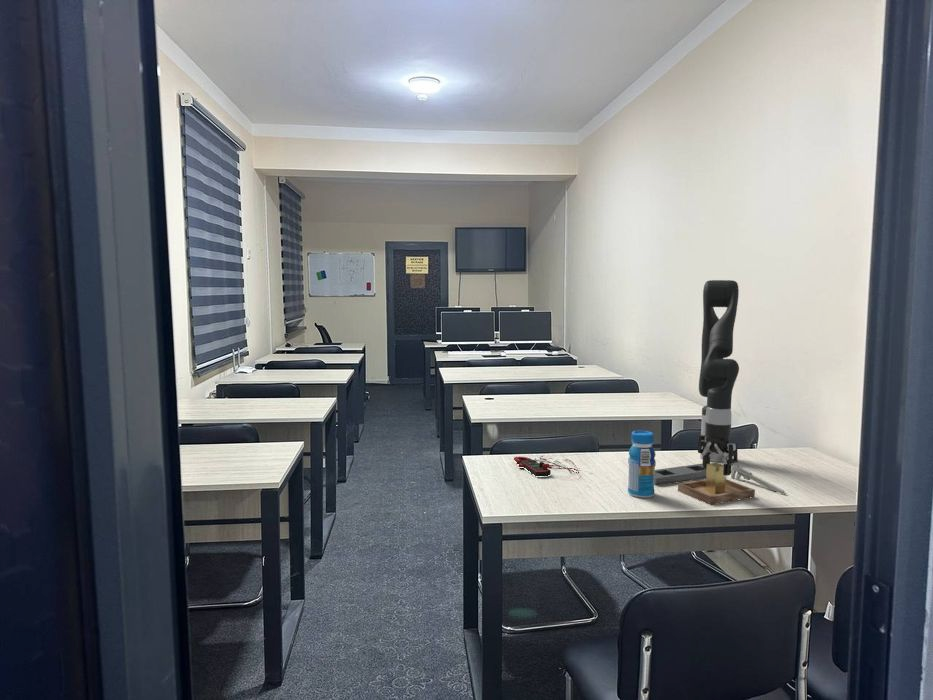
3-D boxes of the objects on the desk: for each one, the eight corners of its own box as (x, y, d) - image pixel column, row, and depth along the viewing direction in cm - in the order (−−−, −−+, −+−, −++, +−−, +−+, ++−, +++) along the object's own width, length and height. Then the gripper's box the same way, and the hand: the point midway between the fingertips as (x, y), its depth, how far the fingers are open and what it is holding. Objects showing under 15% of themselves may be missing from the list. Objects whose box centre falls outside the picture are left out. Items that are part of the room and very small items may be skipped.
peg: (715, 488, 194) (716, 462, 193) (724, 492, 191) (725, 465, 190) (705, 489, 193) (706, 463, 192) (715, 493, 189) (716, 467, 188)
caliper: (730, 479, 208) (731, 461, 208) (733, 478, 209) (733, 461, 208) (785, 496, 190) (786, 477, 190) (787, 495, 191) (788, 476, 190)
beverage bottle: (622, 494, 191) (624, 433, 189) (634, 488, 198) (635, 428, 196) (648, 500, 186) (649, 437, 184) (659, 493, 192) (660, 432, 190)
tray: (720, 484, 201) (720, 477, 201) (754, 497, 188) (754, 489, 188) (677, 490, 195) (678, 483, 195) (710, 505, 182) (710, 496, 182)
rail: (703, 469, 218) (704, 463, 218) (720, 476, 210) (720, 469, 210) (640, 478, 208) (640, 471, 207) (655, 485, 200) (656, 478, 200)
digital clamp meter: (536, 470, 205) (509, 451, 228) (536, 483, 205) (509, 463, 229) (597, 463, 212) (564, 446, 236) (597, 476, 212) (564, 457, 236)
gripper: (745, 425, 184) (743, 476, 186) (710, 416, 197) (708, 464, 199) (726, 427, 181) (724, 479, 183) (692, 418, 195) (691, 466, 196)
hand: (716, 471), depth 191 cm, fingers open, 8 cm apart
